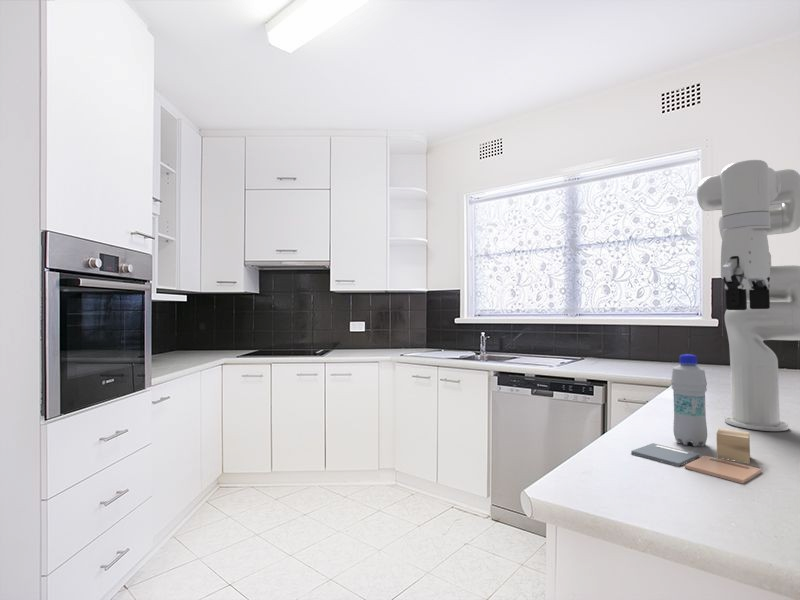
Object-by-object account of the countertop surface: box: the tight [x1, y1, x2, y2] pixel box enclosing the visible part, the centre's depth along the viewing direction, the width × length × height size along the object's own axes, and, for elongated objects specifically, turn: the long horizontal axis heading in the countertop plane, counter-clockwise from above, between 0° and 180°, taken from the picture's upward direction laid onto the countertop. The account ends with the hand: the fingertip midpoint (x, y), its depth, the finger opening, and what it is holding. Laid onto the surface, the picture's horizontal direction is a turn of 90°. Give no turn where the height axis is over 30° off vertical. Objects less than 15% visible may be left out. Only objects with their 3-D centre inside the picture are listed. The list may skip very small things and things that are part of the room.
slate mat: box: [630, 442, 700, 467], centre depth 88 cm, size 9×9×1 cm
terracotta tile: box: [684, 455, 763, 484], centre depth 79 cm, size 9×9×1 cm
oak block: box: [716, 428, 751, 465], centre depth 86 cm, size 5×5×5 cm
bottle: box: [670, 353, 708, 447], centre depth 96 cm, size 7×7×20 cm
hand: (748, 309), depth 86 cm, fingers open, 9 cm apart
